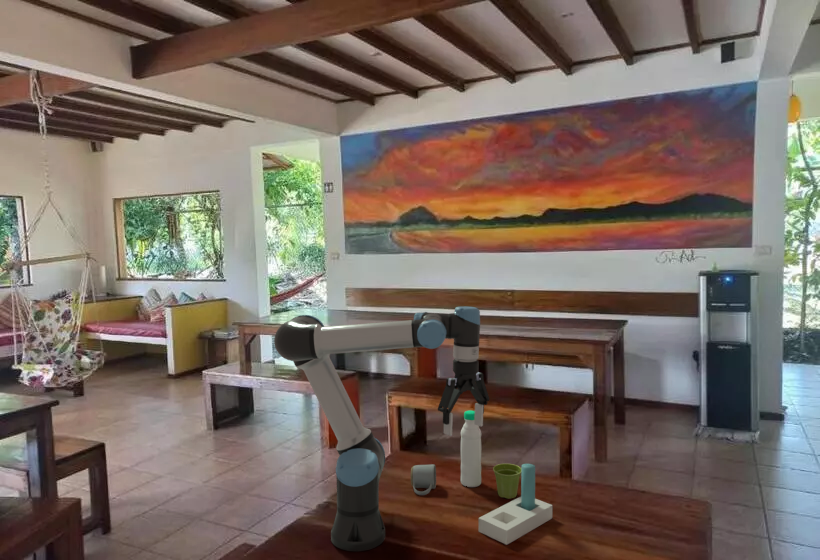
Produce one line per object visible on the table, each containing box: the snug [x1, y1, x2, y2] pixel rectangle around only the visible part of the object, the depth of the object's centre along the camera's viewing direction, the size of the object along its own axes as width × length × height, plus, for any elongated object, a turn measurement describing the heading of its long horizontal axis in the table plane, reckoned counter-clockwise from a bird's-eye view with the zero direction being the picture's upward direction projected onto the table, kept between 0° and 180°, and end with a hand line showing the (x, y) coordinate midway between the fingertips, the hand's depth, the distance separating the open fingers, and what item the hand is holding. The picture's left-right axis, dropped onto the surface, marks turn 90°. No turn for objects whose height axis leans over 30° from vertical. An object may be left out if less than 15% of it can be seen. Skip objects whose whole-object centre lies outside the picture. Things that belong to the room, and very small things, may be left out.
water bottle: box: [460, 409, 482, 488], centre depth 196 cm, size 7×7×25 cm
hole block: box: [478, 496, 553, 545], centre depth 168 cm, size 10×22×4 cm, turn 133°
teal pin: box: [520, 463, 536, 511], centre depth 171 cm, size 4×4×15 cm
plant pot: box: [492, 463, 521, 499], centre depth 188 cm, size 9×9×9 cm
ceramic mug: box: [410, 463, 437, 496], centre depth 193 cm, size 11×8×8 cm
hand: (463, 429), depth 171 cm, fingers open, 13 cm apart
